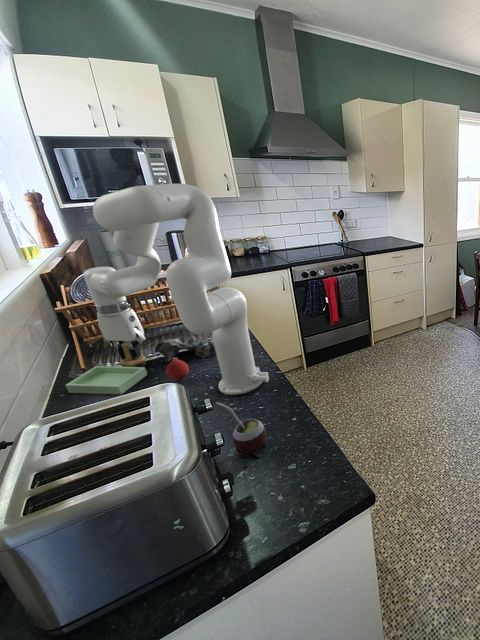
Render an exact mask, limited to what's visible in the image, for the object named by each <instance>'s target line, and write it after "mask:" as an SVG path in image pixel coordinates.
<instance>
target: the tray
mask: <svg viewBox="0 0 480 640" xmlns="http://www.w3.org/2000/svg"><path fill="white" fill-rule="evenodd" d="M146 376H148V372H147V368H146V367H145V366H144V367H122V366H115V365H114V366H113V365H112V366H110V365H95V366H94V367H92V368H91V369H89V370H87V371H86V372H84V373H82V374H81V375H79V376H78V377H75V378H74V379H73V380H71V381H69V382H67V383H66V384H64V386H65V388H66V390H67V392H68V393H69V394H96V395H98V394H100V395H123V394H124V393H125V392H126V391H128V390H129V389H131V388H132V387H133V386H134V385H136V384H137V383H138V382H140V381H141V380H143V379H144V378H145V377H146Z"/></svg>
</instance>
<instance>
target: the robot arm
mask: <svg viewBox="0 0 480 640" xmlns="http://www.w3.org/2000/svg"><path fill="white" fill-rule="evenodd" d="M92 214H93V217H94V219H95V221H96V222H97V224H98V225H99V226H101V227H102V228H103V229H105V230H107V231H110V232H113V237H112V243H113V245H114V246H115V248H117V249H118V250H119V251H121V252H123V253H125V254H128V255H131V256H135V257H137V260H136V263H135V265H131V266H127V267H124V268H120V269H117V270H116V269H115V268H114V267H112V266H96V267H91V268H88V269H86V270H85V271H84V272H83V279H84V281H85V284H86V286H87V289H88V292H89V294H90V296H91V299H92V302H93V304H94V306H95V309H96V311H97V312H96V317H97V323H98V326H99V329H100V332H101V335H102V339H103V341H104V342H107V343H110V345H112V346H113V347H114V349H116V350H117V351H118V354H119V357H120V360H121V359H122V360H124V359H126V357H125V354H124V351H123V349H122V346H121V345H122V344H124V343H128V345H129V347H130V349H129V352H130V355H131V358H132V360H136V359H137V358H139V357H140V356H141V354H142V352H141V350H140V347H139V346H140V345H141V343H144V342H145V341H147V338H146V337H145V330H144V328H143V326H142V324H141V321H140V319H139V316H137V314H136V312H135V311H134V309H133V308H131V307H132V306H131V304H130V303H128V300H127V298H126V296H129V295H132V294H134V293H137V292H140V291H143V290H145V289H150V288H151V287H153V286H154V285H155V284H156V283H157V281H158V278H159V275H160V273H161V269H162V262H161V260H160V257H159V254H158V253H157V251H156V250H155V249H154V248H153V246H154V243H155V239H156V236H157V232H158V229H159V224H160V223H162V222H163V223H164V222H169V221H174V220H175V221H176V220H180V219H184V220H185V224H184V228H183V240H184V243H185V247H186V250H187V254H188V255H187V256H185V257H182V258H178V259H176V260H174V261H172V262H171V263H170V264H169V266H168V267H167V269H166V272H165V273H166V274H165V278H166V283H167V287H168V289H169V292H170V295H171V298H172V300H173V303H174V306H175V308H176V311H177V314H178V317H179V318H180V321H181V323H182V324H183V326H184V327H185V328H186V330H187V331H188V332H189V333H191V334H193V335H195V336H206V335H210V334H211V338H212V339H213V343H214V345H213V347H214V351H215V355H216V358H217V362H218V366H219V370H220V374H221V380H219V381H218V390H219V392H221V393H222V394H224V395H227V396H237V395H243V394H247V393H250V392H252V391H254V390H256V389H257V388H259V386H261V385H262V383H268V382H269V380H270V376H269V372H268V371H263V372H262V371H261V370H260V367H259V366H256V363H255V358H254V353H253V348H252V344H251V339H250V338H251V337H250V331H249V326H248V306H247V304H248V303H247V300H246V297H245V296H244V294H243V293H242V292H241V291H240V290H239V289H237V288H234V287H228V286H227V287H220V288H217V287H219V286H221V285H224V284H226V283H227V282H228V281H230V279H231V277H232V269H231V264H230V261H229V258H228V255H227V250H226V247H225V244H224V241H223V237H222V233H221V231H220V230H221V229H220V225H219V224H220V223H219V218H218V213H217V208H216V206H215V204H214V201H213V200H212V198H211V197H210V196H209V195H208V194H207V193H206V192H205V191H204V190H202V189H201V188H199V187H197V186H195V185H191V184H186V183H162V184H161V183H160V184H148V185H147V184H146V185H135V186H130V187H127V188H123V189H120V190H117V191H113V192H109V193H106V194H102V195H100V196H99V197H98V198H96V200H95V201H94V202H93V206H92ZM214 288H217V289H215V290H213V291H210V290H212V289H214ZM207 291H210V292H208V293H207Z"/></svg>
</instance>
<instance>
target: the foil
mask: <svg viewBox="0 0 480 640" xmlns="http://www.w3.org/2000/svg"><path fill="white" fill-rule="evenodd" d="M213 347H214V343H213V338H212V339H211V340H209V341H208V343H205V341H203V340H202V339H200V338H197V339H196V340H194V338H192V336H191V335H189V336H188V337H185V336H183V335H182V336H181V335H180V336H178V337H175V338H172V339H166V340H163V341H161V342H158V343H157V345H156V346H155V348H154V352H155V353H157V354H161V355H162V356H163V357H164V358H165V359H164V363H169V362H171V361H172V360H173V358H174V356H175V355H177V354H179V353H180V351H181V350H187V351H188V352H192V351H194V354H195V356H200V357H205V358H206V357H207V358H208V357H210V353H211V349H212V348H213Z"/></svg>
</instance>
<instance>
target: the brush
mask: <svg viewBox="0 0 480 640" xmlns="http://www.w3.org/2000/svg"><path fill="white" fill-rule="evenodd" d="M121 346H122V349H123V351H124V354H125V357H126V359H124V360H122V359H121V358H120V360H119V364H120V366H121V367H145V366H146V364H147V362H146V357H145V355H144V354H143V353H141V356H140V357H139V358H137V359H136V360H132V358H131V355H130V352H129V349H130V347H129V345H128V343H127V342H125V343H124V344H122V345H121Z"/></svg>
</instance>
